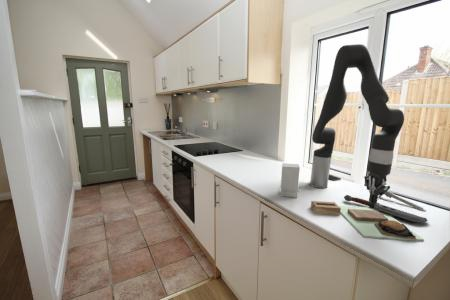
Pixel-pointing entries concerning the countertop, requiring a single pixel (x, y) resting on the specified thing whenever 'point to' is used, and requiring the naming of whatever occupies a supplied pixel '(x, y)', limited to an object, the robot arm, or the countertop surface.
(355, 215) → the board
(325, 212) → the stand
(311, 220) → the countertop surface
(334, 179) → the phone
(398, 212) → the knife
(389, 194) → the caliper
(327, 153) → the robot arm
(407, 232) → the bread roll
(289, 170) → the skincare box
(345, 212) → the mat
